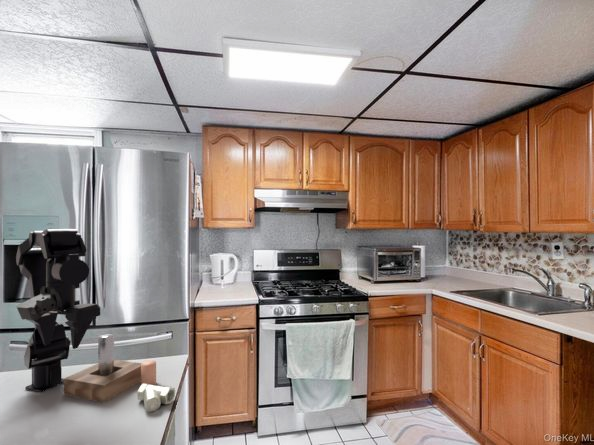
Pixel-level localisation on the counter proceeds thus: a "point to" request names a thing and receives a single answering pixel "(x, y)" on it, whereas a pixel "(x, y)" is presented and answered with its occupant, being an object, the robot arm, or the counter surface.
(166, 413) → the counter surface
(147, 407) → the pipe fitting
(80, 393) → the walnut block
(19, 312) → the robot arm
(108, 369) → the tall metal pin
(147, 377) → the short terracotta pin
